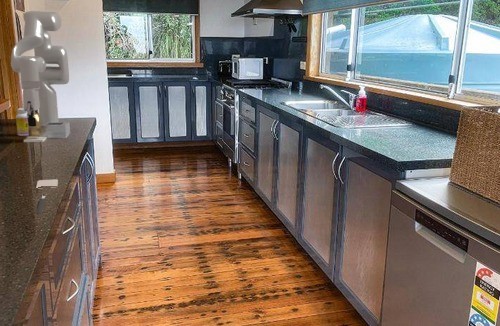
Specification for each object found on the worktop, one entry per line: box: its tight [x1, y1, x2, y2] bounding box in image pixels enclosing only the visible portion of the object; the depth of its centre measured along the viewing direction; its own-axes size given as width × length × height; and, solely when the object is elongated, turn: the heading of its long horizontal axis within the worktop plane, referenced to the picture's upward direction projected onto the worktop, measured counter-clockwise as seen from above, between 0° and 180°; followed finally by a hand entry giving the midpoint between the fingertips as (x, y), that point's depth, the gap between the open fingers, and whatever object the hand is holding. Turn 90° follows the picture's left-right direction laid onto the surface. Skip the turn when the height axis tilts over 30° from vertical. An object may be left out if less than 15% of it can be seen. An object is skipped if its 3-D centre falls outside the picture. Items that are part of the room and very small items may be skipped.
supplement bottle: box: [15, 107, 30, 137], centre depth 222 cm, size 7×7×13 cm
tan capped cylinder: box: [27, 112, 42, 137], centre depth 210 cm, size 5×5×11 cm
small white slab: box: [35, 179, 59, 215], centre depth 136 cm, size 6×29×2 cm, turn 18°
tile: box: [23, 136, 48, 143], centre depth 212 cm, size 8×8×1 cm
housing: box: [40, 121, 71, 139], centre depth 223 cm, size 12×11×6 cm
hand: (34, 124), depth 210 cm, fingers closed on tan capped cylinder, 5 cm apart
